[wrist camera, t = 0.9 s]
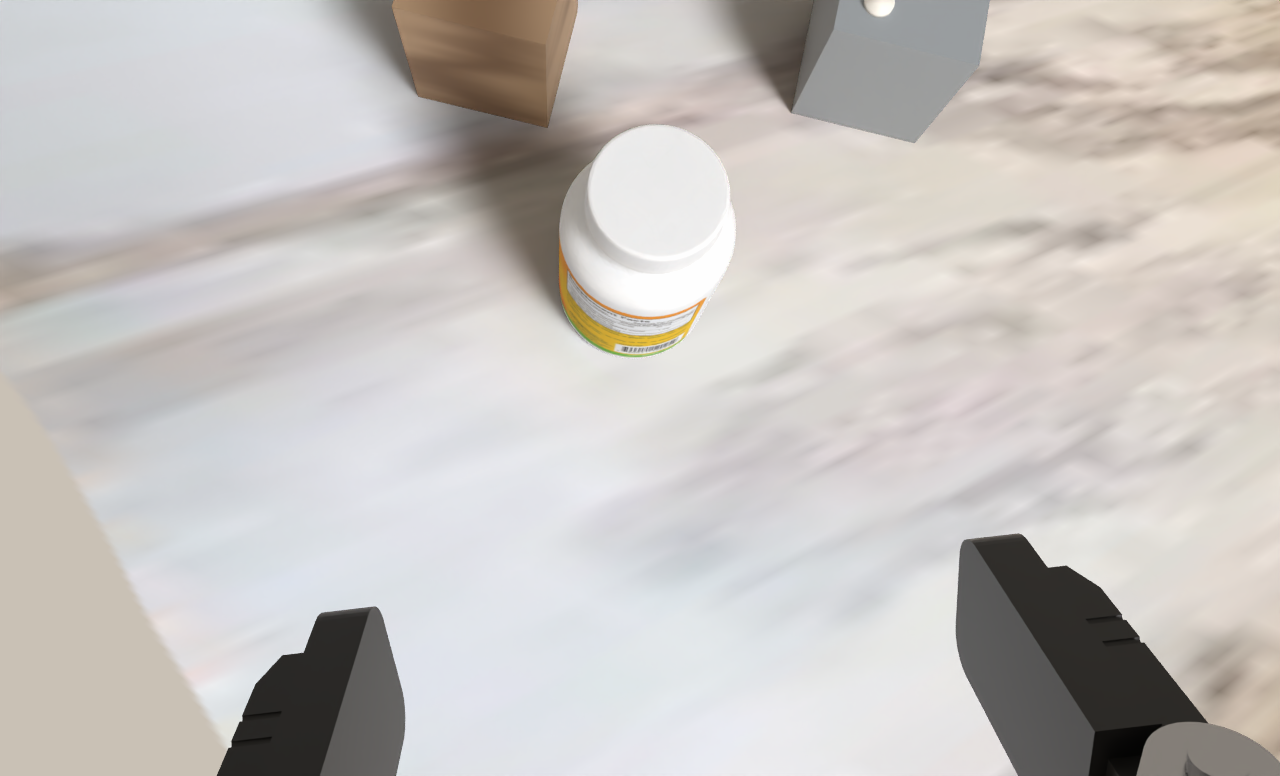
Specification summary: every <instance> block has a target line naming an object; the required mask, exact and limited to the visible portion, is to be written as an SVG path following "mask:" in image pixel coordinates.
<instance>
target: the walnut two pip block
mask: <svg viewBox="0 0 1280 776" xmlns="http://www.w3.org/2000/svg"><path fill="white" fill-rule="evenodd" d="M577 7H578V0H394V1H393V4H392V10H393V13H394V17H395V20H396V23H397V27H398V30H399V33H400V37H401V40H402V44H403V47H404V50H405V54H406V57H407V61H408V64H409V67H410V71H411V74H412V77H413V81H414V84H415V88H416V91H417V94H418V97H422V98H426V99H430V100H435V101H439V102H443V103H447V104H451V105H455V106H459V107H463V108H468V109H472V110H476V111H480V112H484V113H488V114H492V115H496V116H501V117H505V118H509V119H513V120H517V121H521V122H525V123H529V124H534V125H538V126H542V127H546V128H548V124H549V120H550V116H551V112H552V109H553V105H554V101H555V97H556V93H557V89H558V85H559V81H560V77H561V74H562V70H563V66H564V62H565V58H566V54H567V50H568V46H569V43H570V39H571V35H572V31H573V27H574V23H575V19H576V15H577Z"/></svg>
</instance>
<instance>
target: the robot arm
mask: <svg viewBox="0 0 1280 776" xmlns="http://www.w3.org/2000/svg"><path fill="white" fill-rule="evenodd" d="M956 640H957V647H958V652H959V657H960V660H961V664H962V667H963V670H964V672H965V674H966V676H967V678H968V680H969V682H970V684H971V686H972V688H973V690H974V692H975V694H976V696H977V698H978V700H979V701H980V703H981V705H982V707H983V709H984V711H985V713H986V715H987V717H988V719H989V721H990V723H991V725H992V726H993V728H994V730H995V732H996V734H997V736H998V738H999V740H1000V742H1001V744H1002V746H1003V748H1004V749H1005V751H1006V753H1007V755H1008V757H1009V759H1010V761H1011V763H1012V765H1013V767H1014V769H1015V771H1016V772H1017V774H1018V776H1280V762H1279V761H1278V760H1277V759H1276V758H1275V757H1274V756H1273V755H1272V754H1271V753H1270V752H1269V751H1267V750H1266V749H1265V748H1264V747H1262V746H1261V745H1260V744H1258V743H1256V742H1255V741H1253V740H1251V739H1250V738H1248V737H1246V736H1244V735H1242V734H1240V733H1238V732H1235V731H1233V730H1230V729H1227V728H1224V727H1221V726H1217V725H1213V724H1208V722H1207V721H1206V720H1205V719H1204V717H1203V716H1202V715H1201V714H1200V712H1199V711H1198V710H1197V709H1196V707H1195V706H1194V705H1193V704H1192V702H1191V701H1190V700H1189V698H1188V697H1187V696H1186V695H1185V693H1184V692H1183V691H1182V690H1181V688H1180V687H1179V686H1178V685H1177V683H1176V682H1175V681H1174V680H1173V678H1172V677H1171V676H1170V675H1169V673H1168V672H1167V671H1166V670H1165V668H1164V667H1163V666H1162V664H1161V663H1160V662H1159V661H1158V659H1157V658H1156V657H1155V656H1154V654H1153V653H1152V652H1151V651H1150V649H1149V648H1148V647H1147V646H1146V644H1145V643H1141V642H1140V638H1139V636H1138V634H1137V633H1136V632H1135V630H1134V629H1133V628H1132V627H1131V625H1130V624H1129V623H1128V622H1127V620H1123V619H1122V614H1121V613H1120V612H1119V610H1118V609H1117V608H1116V607H1115V605H1114V604H1113V603H1112V602H1111V600H1110V599H1109V598H1108V597H1107V595H1106V594H1105V593H1104V591H1103V590H1102V589H1101V588H1100V587H1099V586H1097V585H1096V584H1094V583H1093V582H1091V581H1089V580H1088V579H1086V578H1085V577H1083V576H1082V575H1080V574H1079V573H1077V572H1075V571H1074V570H1072V569H1071V568H1069V567H1068V566H1060V567H1051V568H1048V567H1047V566H1046V565H1045V563H1044V562H1043V561H1042V559H1041V558H1040V557H1039V555H1038V554H1037V553H1036V551H1035V550H1034V548H1033V547H1032V546H1031V544H1030V543H1029V542H1028V540H1027V539H1026V538H1025V537H1024V536H1023V535H1021V534H1010V535H1001V536H993V537H984V538H975V539H967V540H964V541H963V543H962V545H961V549H960V558H959V577H958V595H957V613H956ZM242 717H243V720H242V722H239V724H238V727H237V729H236V732H235V734H234V736H233V739H232V741H231V742H232V747H231V748H228V750H227V753H226V755H225V758H224V760H223V762H222V765H221V767H220V769H219V772H218V774H217V776H396V773H397V769H398V764H399V759H400V755H401V750H402V745H403V740H404V733H405V706H404V698H403V692H402V688H401V684H400V681H399V677H398V673H397V669H396V665H395V662H394V658H393V654H392V650H391V647H390V643H389V639H388V635H387V632H386V628H385V624H384V620H383V617H382V614H381V612H380V610H379V609H378V608H377V607H367V608H358V609H350V610H341V611H333V612H324V613H321V614H319V616H318V617H317V619H316V621H315V624H314V627H313V629H312V632H311V635H310V637H309V640H308V643H307V645H306V648H305V651H304V653H298V654H289V655H282V656H281V657H280V659H279V660H278V661H277V662H276V663H275V664H274V665H273V666H272V667H271V668H270V669H269V670H268V671H267V673H266V674H265V675H264V676H263V677H262V678H261V679H260V680H259V681H258V682H257V683H256V684H255V687H254V689H253V691H252V694H251V696H250V699H249V701H248V703H247V706H246V708H245V710H244V713H243V715H242Z"/></svg>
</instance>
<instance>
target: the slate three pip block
mask: <svg viewBox="0 0 1280 776" xmlns="http://www.w3.org/2000/svg"><path fill="white" fill-rule="evenodd" d="M989 2H990V0H814V3H813V8H812V13H811V17H810V22H809V27H808V32H807V37H806V42H805V47H804V52H803V57H802V62H801V67H800V72H799V77H798V82H797V87H796V91H795V96H794V101H793V106H792V111H791V113H793V114H798V115H802V116H806V117H810V118H814V119H818V120H822V121H826V122H830V123H834V124H838V125H842V126H846V127H851V128H855V129H859V130H863V131H867V132H871V133H875V134H879V135H883V136H887V137H891V138H895V139H899V140H904V141H908V142H912V143H915V142H916V141H917V140H918V138H919V137H920V136H921V135H922V134H923V132H924V131H925V130H926V129H927V128H928V126H929V125H930V124H931V123H932V122H933V120H934V119H935V118H936V117H937V116H938V114H939V113H940V112H941V111H942V110H943V108H944V107H945V106H946V105H947V104H948V102H949V101H950V100H951V99H952V98H953V96H954V95H955V94H956V93H957V92H958V90H959V89H960V88H961V87H962V86H963V84H964V83H965V82H966V81H967V80H968V78H969V77H970V76H971V75H972V74H973V72H974V71H975V70H976V69H977V68H978V66H979V64H980V58H981V52H982V45H983V39H984V33H985V27H986V21H987V14H988V8H989Z"/></svg>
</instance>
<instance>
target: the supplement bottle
mask: <svg viewBox="0 0 1280 776" xmlns="http://www.w3.org/2000/svg"><path fill="white" fill-rule="evenodd" d="M735 239H736V219H735V214H734V209H733V206H732V202H731V199H730V186H729V180H728V176H727V173H726V171H725V168H724V166H723V164H722V162H721V160H720V159H719V157H718V156H717V154H716V153H715V152H714V151H713V150H712V148H711V147H710V146H709V145H708V144H707V143H706V142H705V141H703V140H702V139H700V138H699V137H698V136H696V135H694V134H693V133H691V132H689V131H687V130H684V129H681V128H678V127H675V126H671V125H664V124H650V125H642V126H637V127H634V128H631V129H628V130H626V131H624V132H622V133H620V134H618V135H617V136H615V137H614V138H613V139H611V140H610V141H609V142H608V143H607V144H606V145H605V146H604V147H603V148H602V149H601V150H600V152H599V153H598V154H597V156H596V157H595V159H594V160H593V161H592V162H590V163H589V164H588V165H587V166H586V167H585V168H584V169H583V170H582V171H581V172H580V173H579V174H578V176H577V177H576V178H575V180H574V181H573V183H572V184H571V186H570V188H569V190H568V192H567V194H566V196H565V199H564V202H563V205H562V210H561V215H560V224H559V290H560V298H561V303H562V306H563V309H564V312H565V314H566V316H567V318H568V320H569V322H570V324H571V325H572V327H573V328H574V329H575V330H576V332H577V333H578V334H579V335H580V336H581V337H582V338H583V339H584V340H585V341H586V342H587V343H589V344H590V345H591V346H593V347H594V348H596V349H598V350H600V351H602V352H604V353H607V354H609V355H612V356H616V357H621V358H629V359H640V358H648V357H652V356H656V355H659V354H661V353H664V352H666V351H668V350H670V349H672V348H673V347H675V346H676V345H678V344H679V343H680V342H681V341H683V340H684V339H685V338H686V337H687V336H688V335H689V333H690V332H691V331H692V329H693V328H694V327H695V325H696V324H697V322H698V320H699V319H700V317H701V315H702V314H703V312H704V310H705V308H706V306H707V304H708V302H709V301H710V299H711V297H712V295H713V293H714V292H715V290H716V288H717V286H718V284H719V283H720V281H721V279H722V278H723V276H724V274H725V272H726V270H727V268H728V265H729V263H730V260H731V257H732V254H733V251H734V246H735Z"/></svg>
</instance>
